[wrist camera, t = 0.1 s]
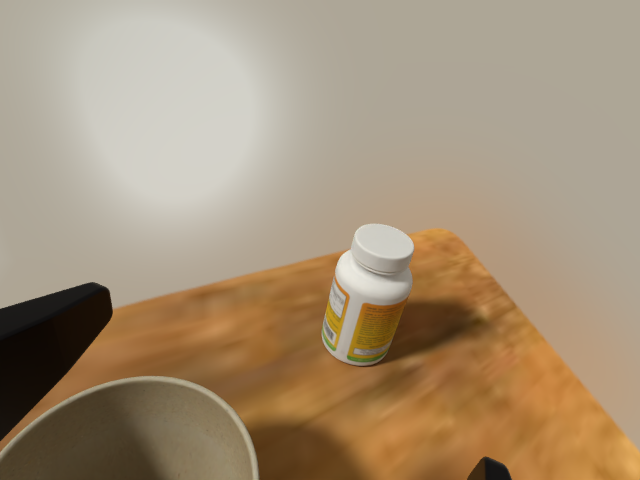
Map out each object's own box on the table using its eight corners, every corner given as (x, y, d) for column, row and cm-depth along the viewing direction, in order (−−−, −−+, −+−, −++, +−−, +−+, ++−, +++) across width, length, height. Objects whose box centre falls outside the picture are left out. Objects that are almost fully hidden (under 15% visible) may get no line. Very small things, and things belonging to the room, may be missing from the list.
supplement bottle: (398, 336, 34) (436, 238, 28) (370, 381, 30) (408, 277, 24) (341, 305, 35) (366, 208, 30) (307, 344, 31) (329, 240, 26)
